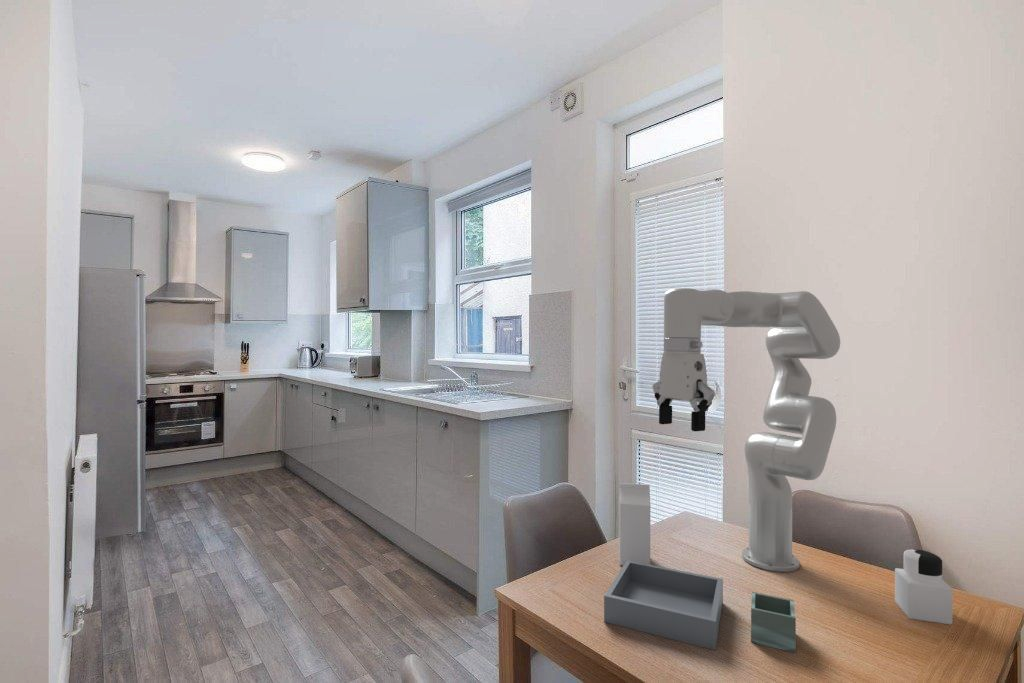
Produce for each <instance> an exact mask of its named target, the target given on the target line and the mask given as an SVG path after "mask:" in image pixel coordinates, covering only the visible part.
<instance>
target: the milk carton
mask: <svg viewBox="0 0 1024 683" xmlns="http://www.w3.org/2000/svg"><path fill="white" fill-rule="evenodd" d="M650 487H651V486H650V484H643V483H640V484H639V483H626V482H624V483H623V482H620V483H619V565H620V566H623V565H624V564H625V562H626V560H629V561H634V562H639V563H644V564H650V565H651V494H650V493H651V490H650Z"/></svg>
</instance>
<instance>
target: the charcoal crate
mask: <svg viewBox="0 0 1024 683" xmlns="http://www.w3.org/2000/svg"><path fill="white" fill-rule="evenodd" d="M603 601H604V602H603V603H604V604H603V605H604V606H603V610H604V611H603V622H604V623H607V624H611V625H615V626H620V627H622V628H627V629H631V630H635V631H638V632H642V633H647V634H650V635H655V636H659V637H662V638H666V639H670V640H674V641H678V642H682V643H684V644H685V643H686V644H689V645H693V646H697V647H701V648H704V649H709V650H713V651H717V650H716V649H717V645H718V644H717V643H718V638H719V637H718V636H719V630H720V626H721V616H722V613H723V612H722V611H723V605H724V578H720V577H715V576H710V575H704V574H700V573H695V572H689V571H684V570H679V569H675V568H669V567H663V566H659V565H654V564H651V563H650V564H644V563H639V562H634V561H629V560H626V562H625V564H624V565H622V566H621V569H620V570H619V572H618V573H617V575H615V578H614V579H613V581H612V583H611V585H610V586H609V588H607V591H606V592H605V594H604V596H603Z"/></svg>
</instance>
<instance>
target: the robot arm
mask: <svg viewBox="0 0 1024 683" xmlns="http://www.w3.org/2000/svg"><path fill="white" fill-rule="evenodd" d="M663 297H664V298H663V352H662V356H661V361H660V368H659V380H658V381H656V382H655V383H654V384H652V389H653V394H654V398H655V400H656V404H657V406H658V423H659V425H671V424H672V423H673V405H671V404H672V402H673V401H674V400H676V401H681V402H689V404H690V405H691V408H692V409H693V411H691V414H690V415H691V418H690V419H691V422H690V424H691V425H690V426H691V427H690V428H691V431H692V432H704V431H705V430H706V412H708V411H709V407H710V406H712V403H713V401H714V397H715V395H716V391H715V390H714V389H713V388H711V387H710V386H709V385H708V374H707V372H708V371H707V365H706V359H705V355H704V353H702V347H703V344H704V343H703V342H702V339H701V338H702V326H710V327H711V326H713V327H716V326H717V327H727V328H768V329H769V328H771V329H769V330H768V332H767V333H766V336H765V347H766V349H767V352H768V355H769V357H770V360H771V362H772V366H773V371H774V375H773V376H774V377H773V381H772V384H771V387H770V390H769V394H768V396H767V399H766V403H765V405H764V409H763V416H762V420H763V423H764V424H765V425H766V426H767V427H768V428H770V429H771V430H772V429H773V430H775V431H778V432H785V433H791V434H795V435H796V434H797V435H802V436H801V437H800V436H799V437H798V436H793V435H792V436H791V435H788V434H781V433H775V432H768V431H759V432H756V433H752V434H751V435H749V437H748V438H747V439H746V441H745V444H744V456H745V461H746V465H747V471H748V472H747V473H748V547H745V548H743V550H742V552H741V553H742V554H741V557H742V559H743V560H744V561H746V563H748V564H750V565H752V566H754V567H756V568H759V569H762V570H766V571H771V572H776V573H778V572H779V573H780V572H781V573H782V572H783V573H786V572H787V573H789V572H794V571H796V570H798V569H799V568H800V560H799V558H798V557H797V556H795V555H794V554H793V490H792V487H791V485H790V483H789V480H788V479H787V477H790V478H794V479H799V480H802V481H814V480H816V479H818V478H819V477H820V476H821V474H822V473H823V472H824V469H825V466H826V463H827V460H828V456H829V452H830V449H831V445H832V441H833V439H834V435H835V431H836V427H837V426H836V425H837V411H836V408H835V406H834V404H833V403H832V402H831V401H830V400H828V399H827V398H825V397H820V396H814V395H813V396H812V395H810V392H811V391H810V390H811V386H812V378H811V375H810V372H809V371H808V370H807V368H806V366H805V365H804V363H803V362H801V360H800V359H805V360H806V359H808V360H809V359H811V360H813V359H815V360H827V359H831V358H833V357H835V356H836V355H837V354H838V352H839V350H840V347H841V337H840V333H839V330H838V329H837V327H836V325H835V324H834V322H833V320H832V318H831V316H830V315H829V313H828V312H827V309H826V308H825V306H824V305H823V303H822V302H821V301H820V300H819V298H817V296H816V295H814V294H813V293H811V292H809V291H807V290H802V291H789V292H774V293H773V292H761V291H759V292H758V291H750V290H749V291H748V290H743V291H741V290H740V291H731V292H727V291H725V290H722V289H705V290H699V289H695V288H690V287H689V288H688V287H687V288H685V287H683V288H673V289H672V288H671V289H668V290H667V291H666V292H664V296H663Z"/></svg>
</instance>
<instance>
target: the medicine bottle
mask: <svg viewBox="0 0 1024 683" xmlns="http://www.w3.org/2000/svg"><path fill="white" fill-rule="evenodd" d="M902 559H903V564H902V565H903V568H898V567H895V568H894V601H895V603H896V605H897V606H898V607H899V608H900V609H901V610H902V612H903V613H904V615H906V616H907V618H908V619H909V620H918V621H925V622H930V623H937V624H941V625H942V624H944V625H950V626H951V625H953V588H952V587H951V586H950V584H948V583H947V582H946V581H945V580H943V559H942V558H941V557H940V556H938V555H937V554H935V553H933V552H930V551H927V550H925V549H924V550H923V549H918V548H917V549H915V548H913V549H912V548H911V549H906V550H905V551H904V552H903V558H902Z"/></svg>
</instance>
